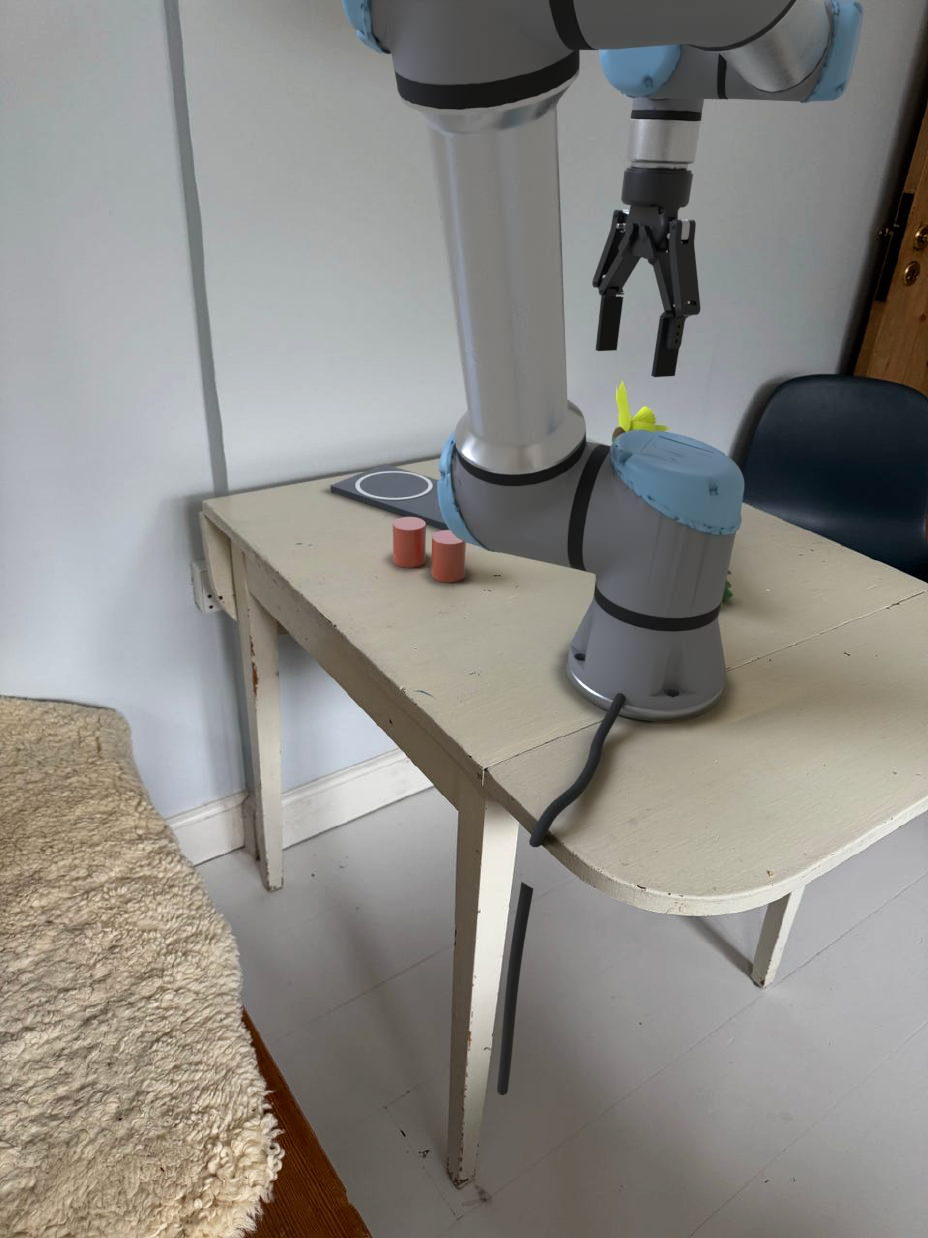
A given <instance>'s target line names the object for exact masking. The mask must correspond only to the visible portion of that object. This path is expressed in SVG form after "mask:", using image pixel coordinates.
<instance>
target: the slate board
mask: <svg viewBox="0 0 928 1238" xmlns="http://www.w3.org/2000/svg"><path fill="white" fill-rule="evenodd" d="M439 480H440V479H436V478H433V477H429V476H427V475H423V474H420V473H416V472H414V471H410V470H406V469H402V468H400V467H396V466H393V465H390V464H387V463H383V464H381V465H378V466H376V467H373V468H371V469H368V470H366V471H363V472H361V473H358V474H355V475H353V476H351V477H348V478H346V479H343V480H341V481H338V482H335V483H333V484H330V493H333V494H336V495H339V496H343V497H345V498H348V499H351V500H354V501H357V502H360V503H363V504H365V505H369V506H372V507H375V508H378V509H381V510H384V511H387V512H389V513H392V514H396V515H399V516H401V517H416V518H420V519H422V520H424V521H425V523H426V525H429V526H432V527H434V528H438V529H440V530H442V531H443V530H449V528H448V527H447V525H446V523H445V521H444V519H443V516H442V513H441V510H440V506H439V501H438V491H437V482H438V481H439Z"/></svg>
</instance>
